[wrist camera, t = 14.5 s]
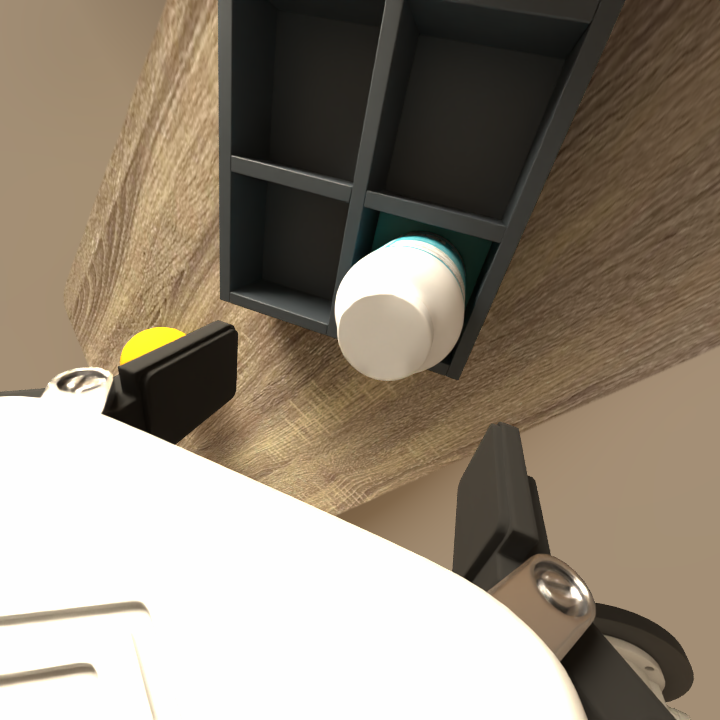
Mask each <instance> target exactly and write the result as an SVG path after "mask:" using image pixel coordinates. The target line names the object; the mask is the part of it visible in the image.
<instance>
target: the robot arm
mask: <svg viewBox="0 0 720 720" xmlns="http://www.w3.org/2000/svg"><path fill="white" fill-rule="evenodd" d="M237 351H238V332H237V331H236V330H235V328H234V326H233V325H231V324H228V323H225V322H222V321H219V320H217V321H215V322H212V323H210V324H208V325H206V326H204V327H202V328H200V329H197V330H195V331H193V332H191V333H189V334H187V335H185V336H182V337H180V338H178V339H176V340H174V341H172V342H170V343H167V344H165V345H163V346H161V347H159V348H157V349H155V350H152V351H150V352H148V353H146V354H144V355H142V356H140V357H137V358H135V359H133V360H131V361H129V362H127V363H125V364H122V365H120V366H118V371H119V375H117V376H115V377H113V375H112V373H111V372H110V371H108V370H106V369H102V368H98V367H84V368H77V369H72V370H69V371H66V372H63V373H61V374H59V375H57V376H56V377H54V378H53V379H52V380H51V381H50V383H49V384H48V386H47V388H43V389H31V390H19V391H6V392H0V720H691V719H690V717H689V716H688V715H687V714H686V713H683V712H681V711H679V710H677V709H674V708H671V707H668V705H667V704H666V703H665V700H664V697H663V695H662V691H663V689H664V687H665V679H664V676H663V674H662V671H661V669H660V667H659V665H658V663H657V662H656V661H655V660H654V659H653V658H652V657H651V656H650V655H649V654H647V653H646V652H645V651H643V650H642V649H640V648H638V647H637V646H635V645H633V644H631V643H628V642H626V641H624V640H621V639H618V638H615V637H612V636H608V635H603V634H602V633H601V632H600V630H599V629H598V628H597V627H596V626H595V625H594V624H593V620H594V618H595V615H596V606H595V602H594V599H593V596H592V594H591V592H590V590H589V589H588V587H587V585H586V583H585V582H584V581H583V579H582V578H581V577H580V576H579V575H578V574H577V573H576V571H574V570H573V569H572V568H571V567H569V565H567V564H566V563H565V562H563V561H561V560H560V559H558V558H556V557H554V556H551V554H550V549H549V544H548V540H547V535H546V530H545V525H544V521H543V516H542V510H541V506H540V501H539V496H538V491H537V486H536V482H535V480H534V479H533V478H532V477H530V476H528V475H527V471H526V466H525V460H524V455H523V449H522V444H521V438H520V433H519V429H518V428H517V427H514V426H511V425H508V424H506V423H503V422H498V423H497V425H495V424H491V425H490V426H489V428H488V430H487V431H486V433H485V435H484V437H483V439H482V441H481V443H480V444H479V446H478V448H477V450H476V452H475V454H474V456H473V457H472V459H471V461H470V463H469V465H468V467H467V469H466V471H465V472H464V474H463V476H462V478H461V480H460V483H459V486H458V494H457V509H456V526H455V540H454V555H453V570H452V571H449V570H448V569H446V568H444V567H442V566H440V565H438V564H436V563H434V562H432V561H430V560H428V559H426V558H424V557H422V556H420V555H417V554H415V553H413V552H411V551H409V550H407V549H405V548H403V547H401V546H398V545H396V544H394V543H392V542H390V541H388V540H385V539H383V538H381V537H379V536H377V535H375V534H373V533H370V532H368V531H366V530H364V529H362V528H359V527H357V526H355V525H353V524H350V523H348V522H346V521H344V520H342V519H340V518H337V517H335V516H333V515H331V514H329V513H326V512H324V511H322V510H320V509H318V508H315V507H313V506H311V505H309V504H306V503H304V502H302V501H300V500H298V499H295V498H293V497H291V496H289V495H286V494H284V493H282V492H280V491H277V490H275V489H273V488H271V487H269V486H266V485H264V484H262V483H260V482H257V481H255V480H253V479H251V478H248V477H246V476H244V475H242V474H239V473H237V472H235V471H233V470H230V469H228V468H226V467H224V466H221V465H219V464H217V463H215V462H212V461H210V460H208V459H206V458H203V457H201V456H199V455H196V454H194V453H192V452H190V451H187V450H185V449H183V448H180V447H178V446H176V445H175V444H177V443H178V442H179V441H180V440H182V439H183V438H184V437H185V436H186V435H188V434H189V433H190V432H191V431H193V430H194V429H195V428H196V427H198V426H199V425H200V424H201V423H202V422H204V421H205V420H206V419H207V418H209V417H210V416H211V415H212V414H214V413H215V412H216V411H217V410H218V409H220V408H221V407H222V406H223V405H225V404H226V403H227V402H228V401H229V400H231V399H232V398H233V396H234V395H235V392H236V380H237Z"/></svg>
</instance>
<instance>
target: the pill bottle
mask: <svg viewBox="0 0 720 720" xmlns="http://www.w3.org/2000/svg"><path fill="white" fill-rule="evenodd" d="M465 285H466V273H465V267H464V263H463V260H462V257H461V256H460V254H459V252H458V251H457V249H456V248H455V247H454V246H453V245H452V244H451V243H450V242H449V241H448V240H447V239H445V238H443V237H442V236H440V235H437V234H435V233H431V232H426V231H415V232H409V233H406V234H403V235H401V236H399V237H397V238H395V239H393V240H392V241H390V242H388V243H387V244H385V245H384V246H382V247H380V248H379V249H377V250H375V251H374V252H372V253H370V254H369V255H367V256H366V257H364V258H363V259H361V260H360V261H358V262H357V263H356V264H355V265H354V266H353V267H352V268H351V269H350V270H349V271H348V273H347V274H346V276H345V277H344V279H343V280H342V282H341V284H340V287H339V289H338V292H337V296H336V301H335V319H336V324H337V337H338V343H339V346H340V349H341V351H342V353H343V355H344V357H345V358H346V360H347V361H348V362H349V363H350V365H352V366H353V367H354V368H355V369H356V370H357V371H359V372H360V373H362V374H364V375H365V376H368V377H370V378H373V379H376V380H382V381H395V380H400V379H404V378H406V377H408V376H410V375H412V374H414V373H418V372H422V371H424V370H427V369H429V368H431V367H433V366H435V365H436V364H438V363H439V362H440V361H441V360H443V359H444V358H445V357H446V356H447V355H448V354H449V353H450V351H451V350H452V349H453V347H454V346H455V344H456V342H457V340H458V338H459V336H460V333H461V330H462V327H463V321H464V309H465Z"/></svg>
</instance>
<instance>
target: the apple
mask: <svg viewBox="0 0 720 720" xmlns="http://www.w3.org/2000/svg"><path fill="white" fill-rule="evenodd" d="M185 335H186V334H184V333H182V332H180V331H178V330H176V329H172V328H165V327H157V328H152V329H148V330H145V331H142V332H140V333H138V334H137V335H135V336H134V337H133V338H132V339H131V340H130V341H129V342H128V343H127V344H126V345H125V347H124V349H123V351H122V355H121V358H120V365H122V364H125V363H127V362H129V361H131V360H133V359H135V358H137V357H140V356H142V355H144V354H146V353H148V352H150V351H152V350H155V349H157V348H159V347H161V346H163V345H165V344H167V343H170V342H172V341H174V340H176V339H178V338H180V337H182V336H185Z"/></svg>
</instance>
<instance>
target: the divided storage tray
mask: <svg viewBox="0 0 720 720" xmlns="http://www.w3.org/2000/svg"><path fill="white" fill-rule="evenodd" d="M624 3H625V0H218V76H219V225H220V299H221V300H224V301H227V302H230V303H232V304H235V305H238V306H241V307H244V308H247V309H250V310H253V311H256V312H259V313H262V314H265V315H268V316H271V317H274V318H277V319H279V320H282V321H285V322H288V323H291V324H294V325H297V326H300V327H303V328H306V329H309V330H312V331H315V332H318V333H321V334H324V335H327V336H330V337H333V338H336V339H338V337H337V324H336V319H335V301H336V296H337V292H338V289H339V287H340V284H341V282H342V280H343V279H344V277H345V276H346V274H347V273H348V271H349V270H350V269H351V268H352V267H353V266H354V265H355V264H356V263H357V262H358V261H360V260H361V259H363V258H364V257H366V256H367V255H369V254H370V253H372V252H374V251H375V250H377V249H379V248H380V247H382V246H384V245H385V244H387V243H388V242H390V241H392V240H393V239H395V238H397V237H399V236H401V235H403V234H406V233H409V232H415V231H426V232H431V233H435V234H437V235H440V236H442V237H443V238H445V239H447V240H448V241H449V242H450V243H451V244H452V245H453V246H454V247H455V248H456V249H457V251H458V252H459V254H460V256H461V257H462V260H463V263H464V267H465V273H466V285H465V309H464V321H463V327H462V330H461V333H460V336H459V338H458V340H457V342H456V344H455V346H454V347H453V349H452V350H451V351H450V353H449V354H448V355H447V356H446V357H445V358H444V359H443V360H441V361H440V362H439V363H438V364H436V365H435V366H433V367H431V368H429V369H427V370H430V371H433V372H435V373H438V374H441V375H444V376H445V375H446V376H447V377H450V378H453V379H456V380H459V378H460V376H461V373H462V371H463V369H464V366H465V364H466V362H467V360H468V357H469V355H470V353H471V350H472V348H473V346H474V344H475V341H476V339H477V337H478V335H479V332H480V330H481V328H482V325H483V323H484V321H485V319H486V316H487V314H488V312H489V310H490V307H491V305H492V303H493V300H494V298H495V296H496V294H497V291H498V289H499V287H500V285H501V282H502V280H503V278H504V275H505V273H506V271H507V269H508V266H509V264H510V262H511V260H512V257H513V255H514V253H515V250H516V248H517V246H518V244H519V241H520V239H521V237H522V234H523V232H524V230H525V228H526V225H527V223H528V221H529V219H530V216H531V214H532V212H533V209H534V207H535V205H536V203H537V200H538V198H539V196H540V194H541V191H542V189H543V187H544V184H545V182H546V180H547V178H548V175H549V173H550V171H551V169H552V166H553V164H554V162H555V159H556V157H557V155H558V153H559V150H560V148H561V146H562V144H563V141H564V139H565V137H566V134H567V132H568V130H569V128H570V125H571V123H572V121H573V119H574V116H575V114H576V112H577V109H578V107H579V105H580V103H581V100H582V98H583V96H584V93H585V91H586V89H587V87H588V84H589V82H590V80H591V78H592V75H593V73H594V71H595V68H596V66H597V64H598V62H599V59H600V57H601V55H602V53H603V50H604V48H605V46H606V43H607V41H608V39H609V37H610V34H611V32H612V30H613V28H614V25H615V23H616V21H617V18H618V16H619V14H620V12H621V9H622V7H623V5H624Z"/></svg>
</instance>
